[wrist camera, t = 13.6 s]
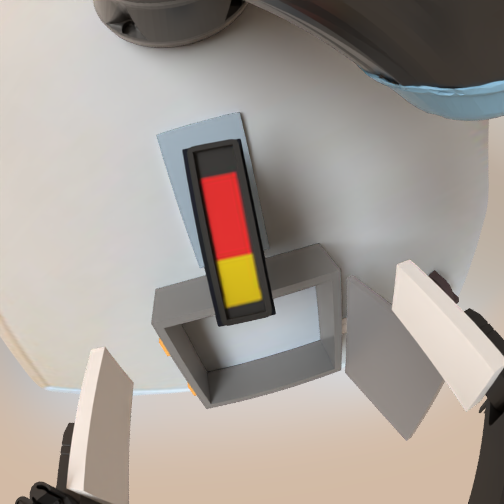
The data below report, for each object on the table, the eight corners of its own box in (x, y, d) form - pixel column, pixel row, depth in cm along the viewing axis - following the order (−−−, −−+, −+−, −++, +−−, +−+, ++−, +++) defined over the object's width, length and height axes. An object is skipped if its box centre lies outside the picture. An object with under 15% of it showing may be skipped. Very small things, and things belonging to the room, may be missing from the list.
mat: (157, 134, 25) (156, 135, 25) (238, 112, 26) (239, 112, 25) (199, 265, 33) (199, 268, 32) (268, 246, 33) (269, 248, 33)
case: (151, 290, 33) (138, 402, 20) (352, 233, 34) (430, 311, 21) (199, 378, 42) (209, 467, 29) (352, 332, 44) (398, 407, 30)
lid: (451, 362, 17) (459, 354, 17) (346, 278, 28) (355, 273, 29) (406, 441, 25) (413, 435, 26) (345, 372, 37) (351, 368, 37)
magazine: (218, 288, 32) (218, 333, 17) (194, 169, 31) (175, 117, 16) (252, 280, 32) (279, 319, 17) (228, 163, 31) (236, 106, 16)
